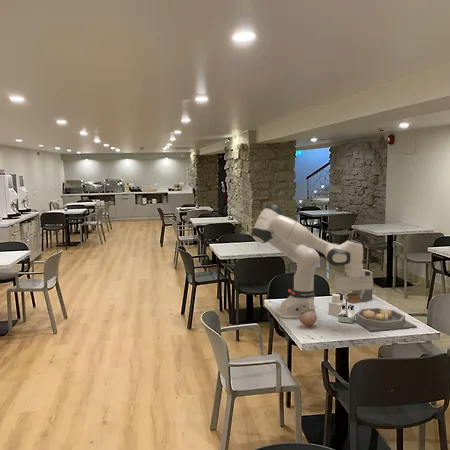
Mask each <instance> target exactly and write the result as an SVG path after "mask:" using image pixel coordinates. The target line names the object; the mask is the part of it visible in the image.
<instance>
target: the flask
mask: <svg viewBox="0 0 450 450" xmlns="http://www.w3.org/2000/svg"><path fill="white" fill-rule="evenodd" d="M371 272H372V278H373V279H374V273H373V271H371ZM373 288H374V287H373ZM373 288H372V289H370V290H364V293H363V295H362V299H360V302H359V303H365V302H369V301H372V300H373V290H374V289H373ZM360 292H361V291H360V290H356V291H351V293H357V294H360Z"/></svg>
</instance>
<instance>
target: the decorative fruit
mask: <svg viewBox="0 0 450 450" xmlns="http://www.w3.org/2000/svg"><path fill="white" fill-rule="evenodd" d="M298 319H299V321H300V323H301V324H302V325H303V326H305V327H307V328H308V327H310V326H312V325H314V324H316V322H317V320H318V316H317V312H316V313H315V312H314V310H312V309H309V308H308V310H303V311H302V312H301V313H300V315H299V318H298Z"/></svg>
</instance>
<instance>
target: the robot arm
mask: <svg viewBox="0 0 450 450" xmlns="http://www.w3.org/2000/svg"><path fill="white" fill-rule="evenodd" d="M283 213H284V212H283V210H282V208H281V207H280V206H278V205H277V204H274V203H267V204H266V205H265V206H264V208H263V210H262V211H261V212H260V214H259V215H258V217H257V219H256V222H255V224H254V226H253V228H251V233H250V236H251V238H252V239H254V241H256V242H258V243H261V244H265V243H268V244H269V245H271V246H272V247H274V248H275V249H277V250H278V251H279V252H281V253H282V254H283V255H285V256H286V257H287V258H289V259H290V260H291V261H293V262H294V263H295V264H297V267H296V271H295V273H294V275H293V288H292V289H290V288H288V289H287V292H288V293H289V294H290V295H289V296H287V298H286V299H285V300H283V301H282V302H281V304H280V309H277V310H276V312H275V313H276V315H277V316H278V317H280V318H282V319H287V320H288V319H289V320H293V319H299V315H300V313H301V312H302V311H303V310H308V308H309V309H312V310H314V312H315V313H316V314H317V312H316V307H315V300H314V299H315V289H314V285H315V284H314V281H315V278H314V277H315V273H316V269H317V266H318V265H319V263H320V259H321V257H320V255H319V253H318V252H320V253H321V254H322V255H324V256H325V258H326V260H327V262H328V264H329V265H331V266H333V267H339V266H341V267H342V266H344V272H338V273H336V274H335V275H334V281H333V290H334V291H335V292H336V293H340V292H341V294H343V300H347V299H348V296H347V294H348V292H352V291H356V290H360V291H361V292H360V294H359V295H360V299H362V295H363V293H364V290H370V289H372V288H374V277H373V278H372V272H373V271H370V270H369V269H366V268H364V265H363V260H364V248H363V247H364V245H363V244H362V243H361V242H360V241H357V240H354V239H347V240H346V241H344V242H343V243H341V244H339V243H336V242H328V241H326V240H324V239H323V238H320V237H319V236H316V235H315V234H313V233H312V232H311V231H310V230H309V229H308V228H306V226H304V225H303V224H301V223H299V222H298V221H296V220H295V219H293V218H290V217H288V216H285V215H283Z"/></svg>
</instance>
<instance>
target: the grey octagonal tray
mask: <svg viewBox="0 0 450 450" xmlns="http://www.w3.org/2000/svg"><path fill="white" fill-rule="evenodd" d="M354 314H355V316H356V320H355V322H354V323H355V324H357V325H359V326H360V327H362V328H363V329H365V330H366V331H368V332H370V333H376V332H377V333H378V332H379V333H380V332H389V331H398V330H397V329H401V330H410V328H412V329H417V328H418V327H417V325H415V324H414V323H411V322H409V321H408V320H406V315H404V314H402V313H400V312H399V311H396V310H393V309H388V308H380V307H372V308H369V307H368V308H360V309H359V310H358V311H357V312H356V313H354Z"/></svg>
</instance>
